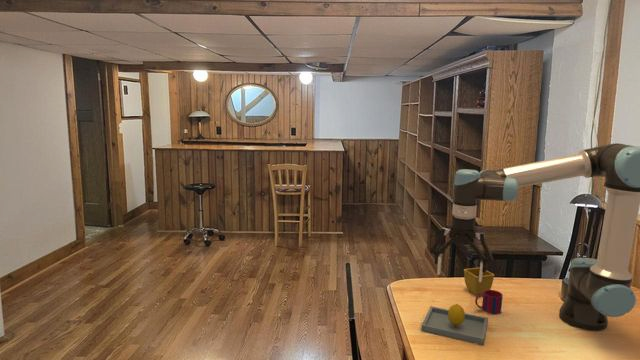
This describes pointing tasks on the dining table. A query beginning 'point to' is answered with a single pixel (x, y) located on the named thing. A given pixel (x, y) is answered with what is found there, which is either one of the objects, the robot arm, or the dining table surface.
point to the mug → (491, 301)
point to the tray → (467, 331)
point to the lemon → (456, 314)
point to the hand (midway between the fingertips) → (459, 277)
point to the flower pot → (473, 280)
